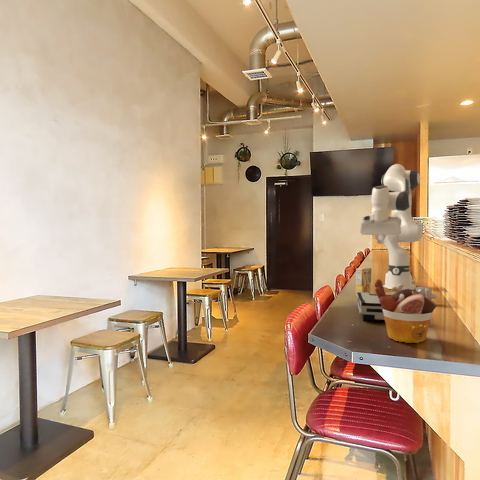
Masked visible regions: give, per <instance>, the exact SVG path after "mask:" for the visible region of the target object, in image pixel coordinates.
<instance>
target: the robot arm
mask: <svg viewBox="0 0 480 480" xmlns="http://www.w3.org/2000/svg"><path fill="white" fill-rule="evenodd" d="M420 182H421V176H420V173H419V171H418V170H417V169H415V170H414V169H410V170H407V169H406V168H405V167H404V166H403V165H402V164H399V163H395V164H393V165H391V166H390V167H389V168H388V169H387V171H386V172H385V173H384V174H383V175H382V176H381V185H377V186H374V187H372V189H371V201H370V202H371V211H370V212H371V213H370V214H367V215H364V216H362V217H361V219H362V222H361V223H360V229H359V230H360V231H359V233H360V234H361V235H363V236H368V235H369V236H370V235H371V236H374V239H375V240H376V244H377V245H378V244H380V245H383V244H384V245H385V248H386V249H387V252H388V267H387V272H386V273H385V278H384V279H385V281H384V284H383V288H384V289H388V290H389V289H390V290H392V289H391V288H392V287H394V286H396V287H397V288H398V285H399V284H403V285H404V286H403V288H402V290H405V289H410V291H414V290H415V291H416V287H417V285H416V284H414V282H413V277H412V274H411V273H410V271H411V267H410V266H411V265H410V254H409V252H408V250H407V249H405V248H403V247H401V246H399V243H415V242H419V241H420V240H421V239H422V238H423V233H424V231H423V229H422V227H421V226H420V225H419V224H418V223H416V222H415V220H414V219H413V216H412V202H413V201H412V199H413V198H412V191H414V190H415V189H416V188H418V186H419V185H420ZM390 191H391V192H390ZM390 211H391V215H390Z"/></svg>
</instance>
